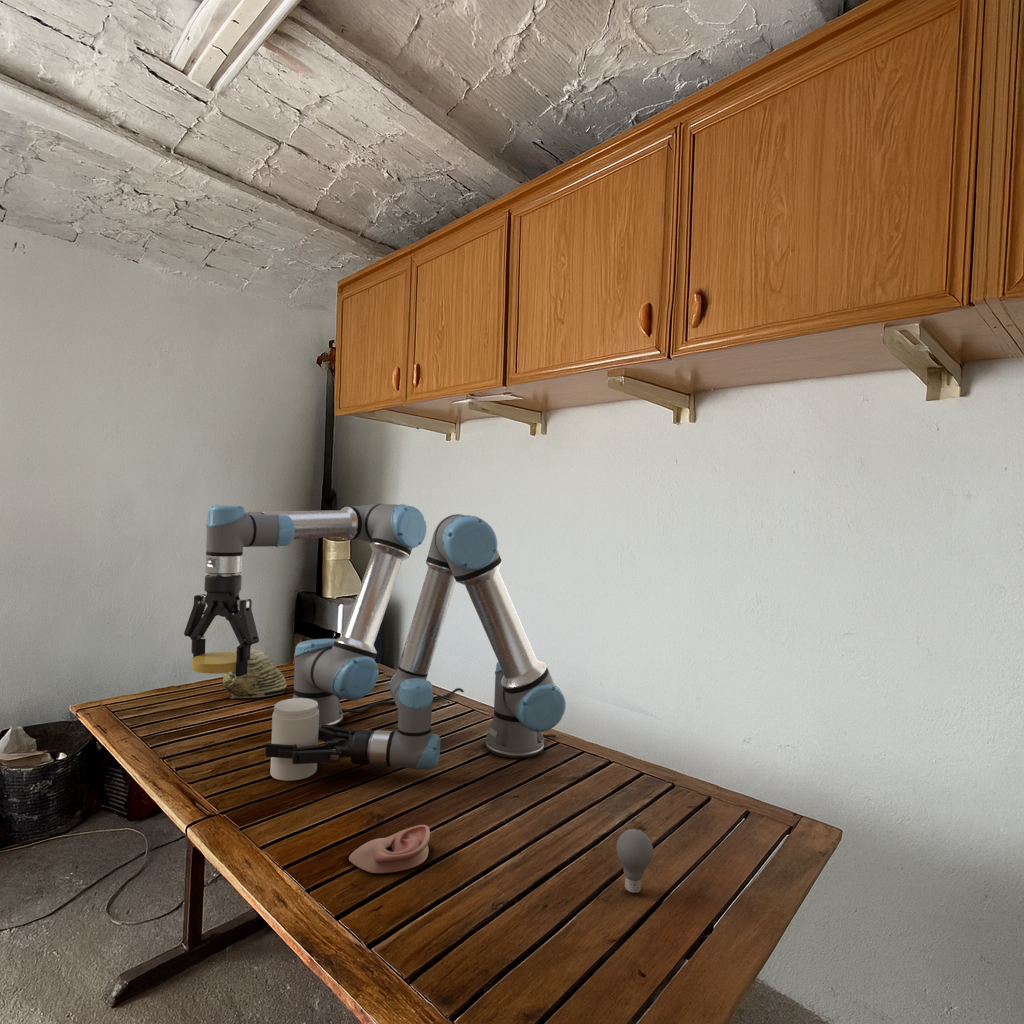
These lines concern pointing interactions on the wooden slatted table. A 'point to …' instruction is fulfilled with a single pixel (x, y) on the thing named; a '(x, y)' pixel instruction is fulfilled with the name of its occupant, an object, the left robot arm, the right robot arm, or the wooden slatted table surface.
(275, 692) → the fossil
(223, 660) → the lid
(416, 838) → the anatomical model
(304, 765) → the jar
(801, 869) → the wooden slatted table surface
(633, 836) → the light bulb
